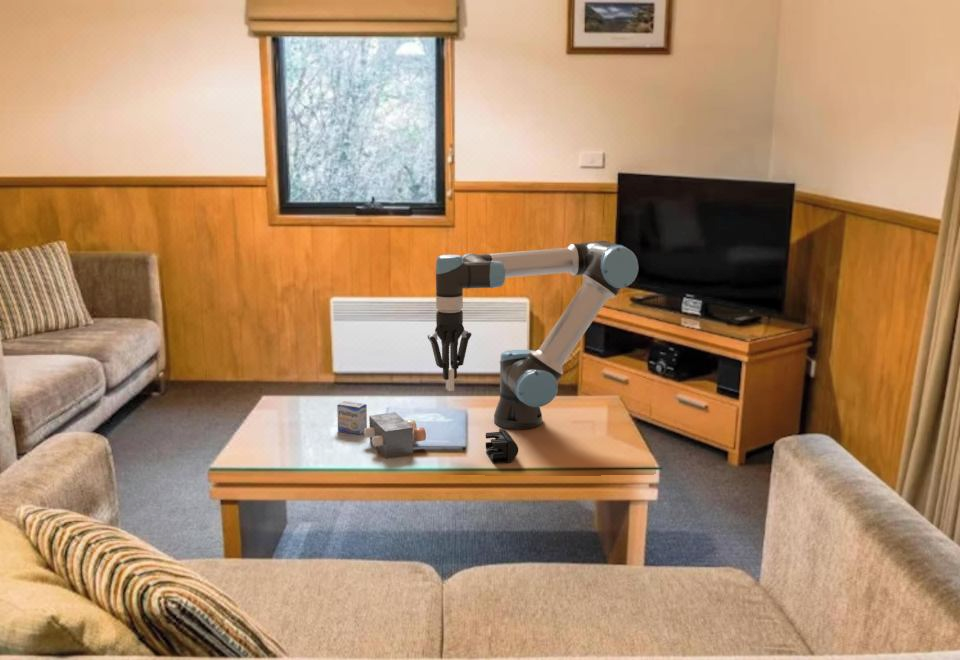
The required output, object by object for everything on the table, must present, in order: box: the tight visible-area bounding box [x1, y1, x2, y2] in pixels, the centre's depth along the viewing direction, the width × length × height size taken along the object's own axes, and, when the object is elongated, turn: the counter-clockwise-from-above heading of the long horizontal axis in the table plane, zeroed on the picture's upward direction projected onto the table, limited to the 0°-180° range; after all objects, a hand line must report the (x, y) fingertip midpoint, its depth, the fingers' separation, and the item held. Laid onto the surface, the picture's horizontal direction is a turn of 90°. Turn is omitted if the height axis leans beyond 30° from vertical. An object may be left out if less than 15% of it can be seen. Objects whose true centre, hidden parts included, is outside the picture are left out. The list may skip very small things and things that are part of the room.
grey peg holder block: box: [368, 411, 414, 459], centre depth 246 cm, size 8×14×8 cm, turn 25°
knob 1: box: [363, 419, 418, 439], centre depth 250 cm, size 15×4×4 cm, turn 115°
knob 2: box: [371, 427, 427, 447], centre depth 243 cm, size 15×4×4 cm, turn 115°
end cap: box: [485, 428, 519, 465], centre depth 240 cm, size 10×7×7 cm
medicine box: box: [336, 400, 368, 436], centre depth 259 cm, size 8×4×9 cm, turn 68°
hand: (450, 389), depth 247 cm, fingers closed
